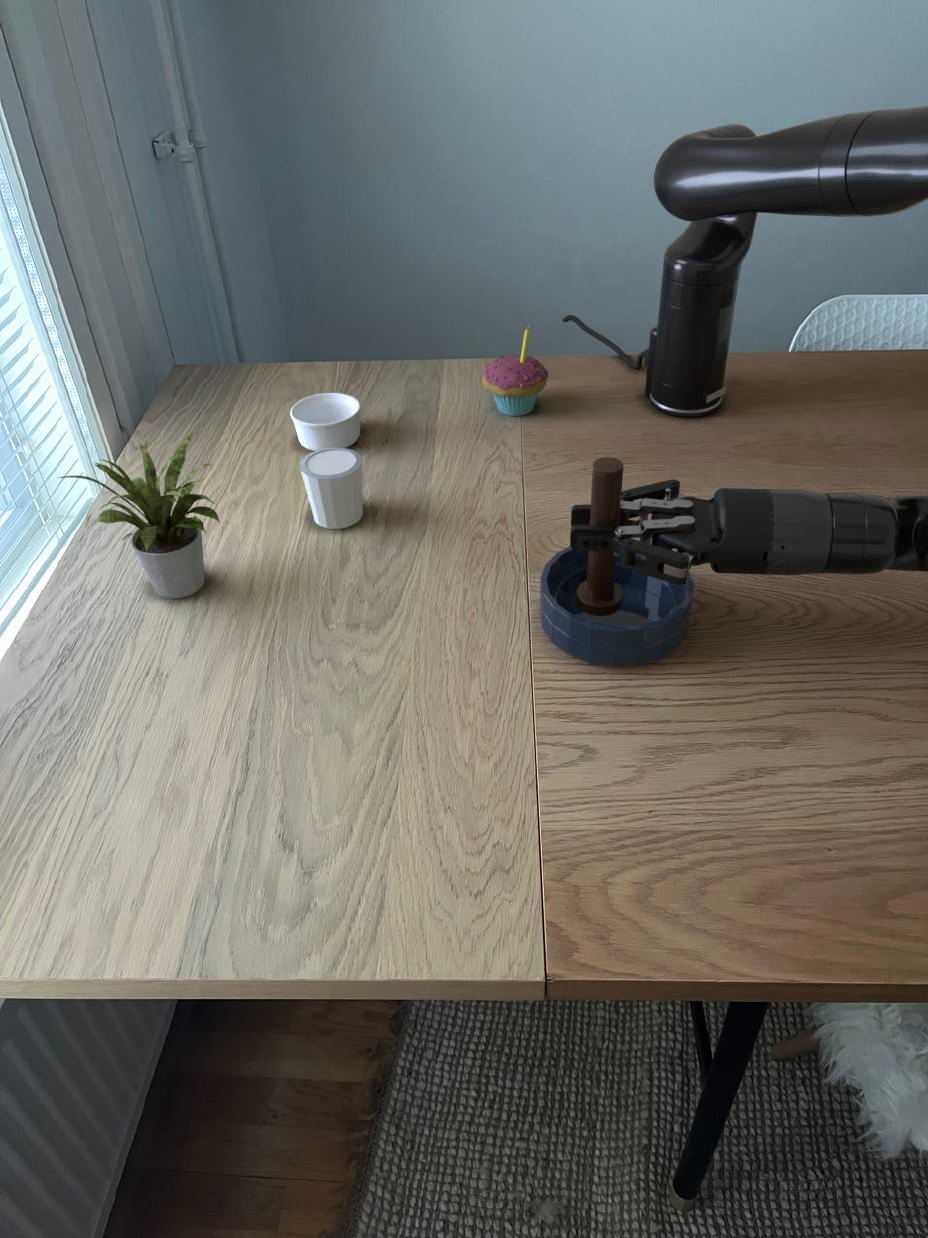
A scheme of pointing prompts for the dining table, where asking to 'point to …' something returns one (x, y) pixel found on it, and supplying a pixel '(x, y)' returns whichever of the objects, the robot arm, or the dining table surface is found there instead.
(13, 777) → the dining table surface
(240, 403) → the dining table surface
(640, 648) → the bowl
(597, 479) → the stirrer
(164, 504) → the house plant
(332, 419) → the ramekin
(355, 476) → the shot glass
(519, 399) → the cupcake
